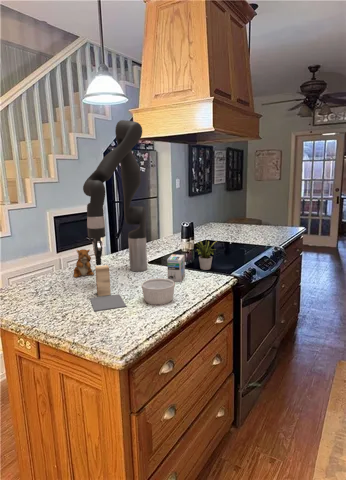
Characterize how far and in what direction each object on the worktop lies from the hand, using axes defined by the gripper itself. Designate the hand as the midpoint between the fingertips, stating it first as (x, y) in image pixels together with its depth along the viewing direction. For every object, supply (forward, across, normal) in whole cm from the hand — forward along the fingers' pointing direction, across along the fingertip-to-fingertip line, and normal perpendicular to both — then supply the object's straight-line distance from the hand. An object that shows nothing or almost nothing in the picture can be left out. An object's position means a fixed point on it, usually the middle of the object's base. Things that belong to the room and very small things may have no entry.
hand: (98, 264), depth 153 cm
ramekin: (+10, -26, -20) cm, 34 cm away
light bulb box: (+10, -3, -36) cm, 38 cm away
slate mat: (+10, -22, 0) cm, 24 cm away
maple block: (+10, -12, 0) cm, 16 cm away
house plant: (+10, +8, -55) cm, 57 cm away
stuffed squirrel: (+10, +24, +5) cm, 26 cm away
